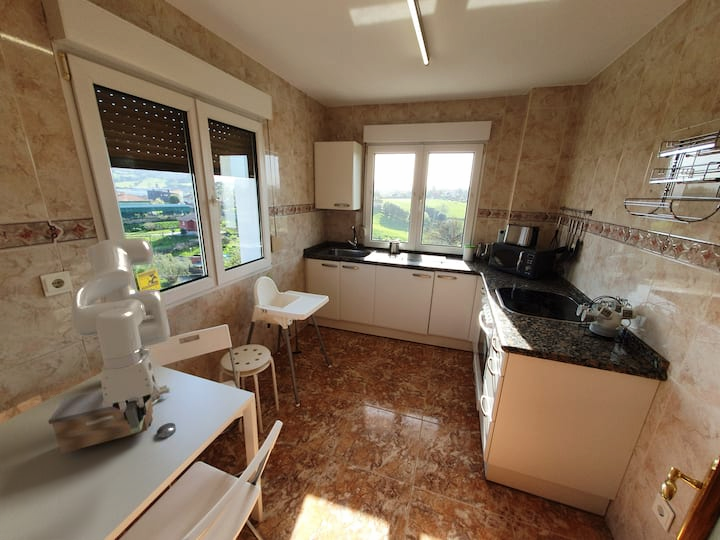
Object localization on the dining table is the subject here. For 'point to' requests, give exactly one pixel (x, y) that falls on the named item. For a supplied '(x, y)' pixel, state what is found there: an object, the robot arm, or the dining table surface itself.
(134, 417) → the scraper tool
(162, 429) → the grey rounded piece
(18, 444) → the dining table surface
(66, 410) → the walnut cabinet
